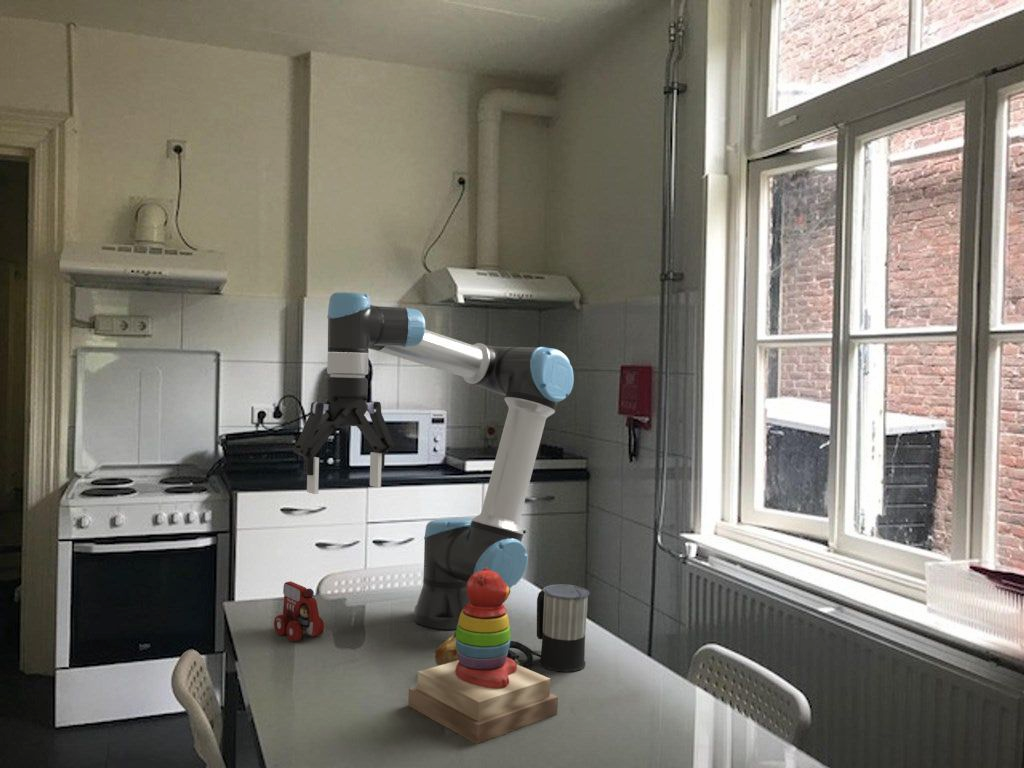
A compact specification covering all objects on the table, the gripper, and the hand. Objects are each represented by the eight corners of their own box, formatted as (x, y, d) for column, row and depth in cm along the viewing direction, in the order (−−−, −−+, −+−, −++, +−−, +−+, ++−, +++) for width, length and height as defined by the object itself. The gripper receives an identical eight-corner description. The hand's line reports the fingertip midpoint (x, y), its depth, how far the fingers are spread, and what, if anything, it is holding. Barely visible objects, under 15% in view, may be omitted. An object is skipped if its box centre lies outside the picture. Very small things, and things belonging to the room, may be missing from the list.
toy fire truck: (300, 646, 168) (302, 595, 168) (269, 630, 177) (271, 582, 177) (329, 639, 173) (331, 590, 173) (298, 624, 182) (300, 577, 182)
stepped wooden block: (487, 681, 154) (488, 649, 154) (557, 714, 141) (558, 679, 141) (408, 705, 142) (409, 671, 142) (476, 744, 129) (478, 706, 128)
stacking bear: (505, 690, 135) (510, 581, 135) (446, 682, 137) (450, 575, 137) (519, 667, 146) (523, 566, 145) (463, 660, 148) (467, 561, 147)
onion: (428, 667, 160) (430, 626, 160) (468, 663, 163) (469, 623, 163) (440, 682, 153) (442, 639, 153) (481, 677, 156) (483, 635, 156)
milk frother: (595, 665, 165) (599, 591, 164) (541, 685, 154) (545, 605, 153) (542, 646, 175) (545, 576, 174) (488, 663, 164) (491, 588, 163)
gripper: (390, 375, 166) (388, 481, 166) (276, 374, 149) (273, 492, 149) (413, 377, 160) (410, 486, 161) (297, 376, 143) (294, 498, 144)
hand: (344, 489), depth 155 cm, fingers open, 13 cm apart
